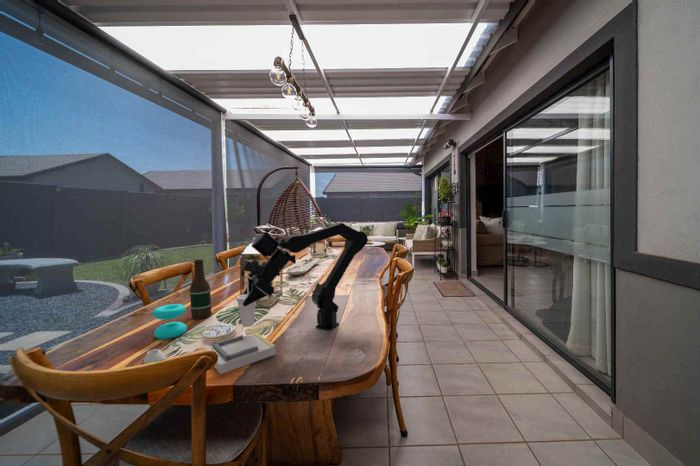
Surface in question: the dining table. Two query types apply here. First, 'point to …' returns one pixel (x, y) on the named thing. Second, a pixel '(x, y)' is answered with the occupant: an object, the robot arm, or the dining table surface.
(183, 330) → the donuts
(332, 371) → the dining table surface
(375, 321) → the dining table surface
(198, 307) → the beer bottle
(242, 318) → the smoothie
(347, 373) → the dining table surface
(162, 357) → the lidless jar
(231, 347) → the dock
